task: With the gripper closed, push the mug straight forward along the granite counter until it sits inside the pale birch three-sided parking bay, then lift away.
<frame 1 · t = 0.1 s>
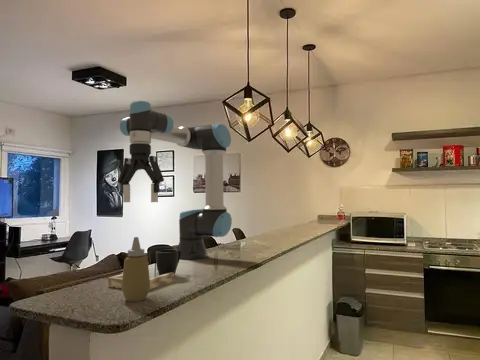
hand: (140, 202, 132), 28 cm above the table, fingers open, 13 cm apart
mug: (170, 276, 138), on the table
squeeze bottle: (136, 300, 106), on the table
bay: (144, 283, 125), on the table
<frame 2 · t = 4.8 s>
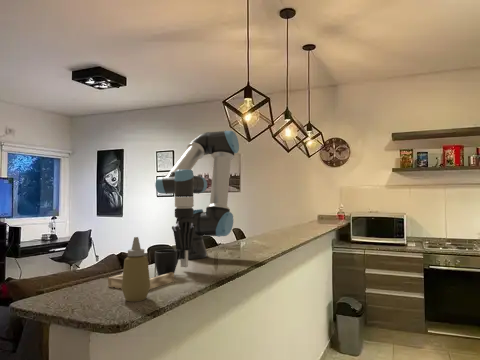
hand: (184, 266, 145), 2 cm above the table, fingers closed
mug: (169, 276, 137), on the table, touching gripper
everything else where it was.
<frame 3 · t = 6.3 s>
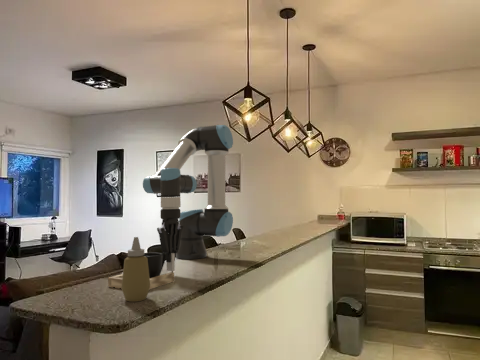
hand: (170, 270, 138), 2 cm above the table, fingers closed
mug: (154, 281, 130), on the table, touching gripper
everything else where it was.
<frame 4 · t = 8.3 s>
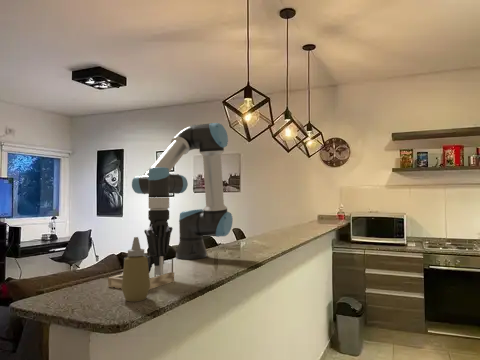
hand: (159, 274, 132), 2 cm above the table, fingers closed
mug: (140, 285, 124), on the table, touching gripper
everything else where it was.
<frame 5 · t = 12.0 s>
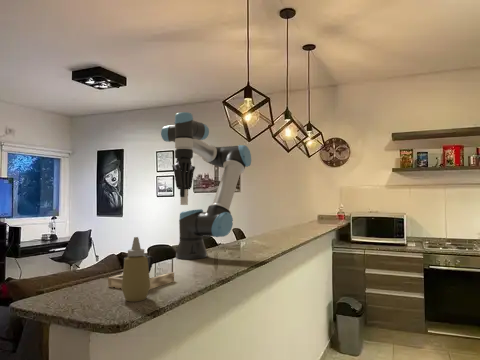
hand: (184, 204, 153), 26 cm above the table, fingers closed
mug: (140, 285, 124), on the table
everything else where it was.
at the end: mug inside the target area (1.3 cm from its centre), on the table; mug tilted 0°; mug moved 15.8 cm from its start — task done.
